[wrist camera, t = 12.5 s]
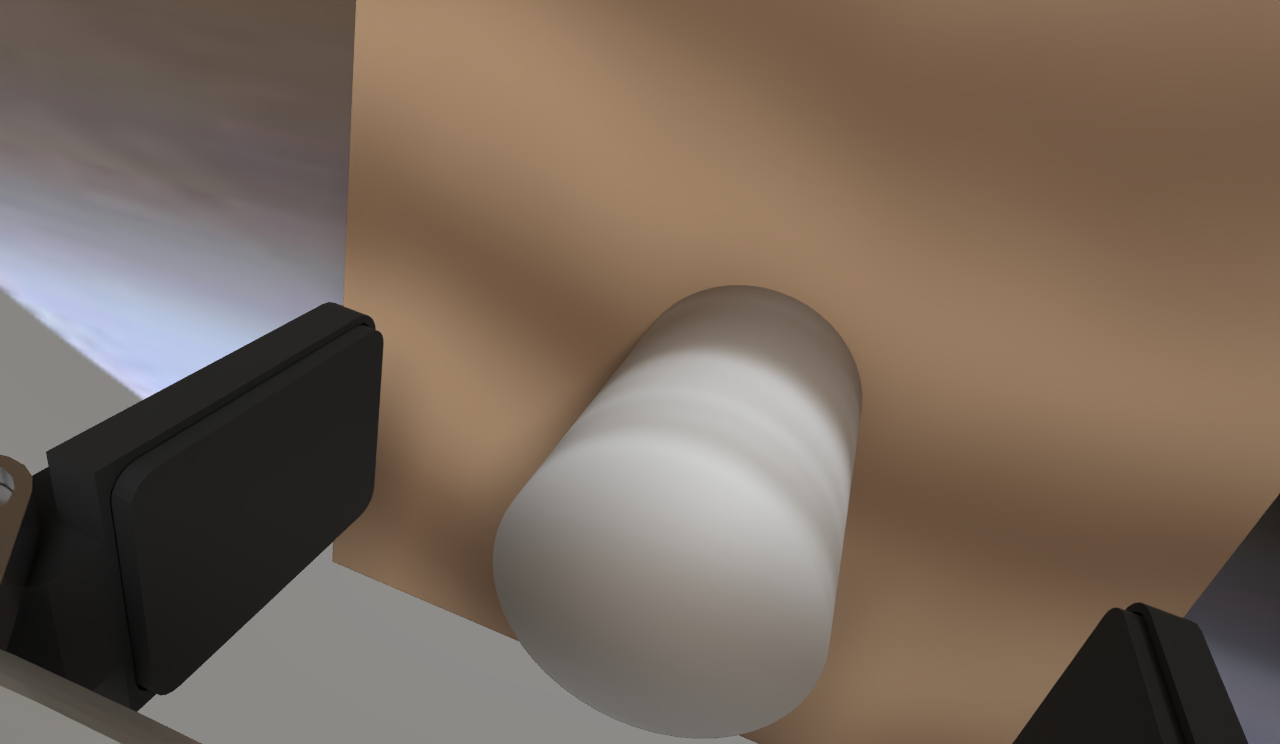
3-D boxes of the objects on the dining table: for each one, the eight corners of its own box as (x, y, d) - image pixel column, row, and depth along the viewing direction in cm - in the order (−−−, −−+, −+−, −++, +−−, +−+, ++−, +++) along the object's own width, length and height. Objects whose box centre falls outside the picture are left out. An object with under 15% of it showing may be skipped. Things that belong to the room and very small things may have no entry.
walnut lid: (412, -241, 12) (-33, -443, 7) (1564, 25, 10) (2509, 82, 4) (362, 532, 20) (135, 754, 14) (999, 797, 18) (1039, 1203, 12)
